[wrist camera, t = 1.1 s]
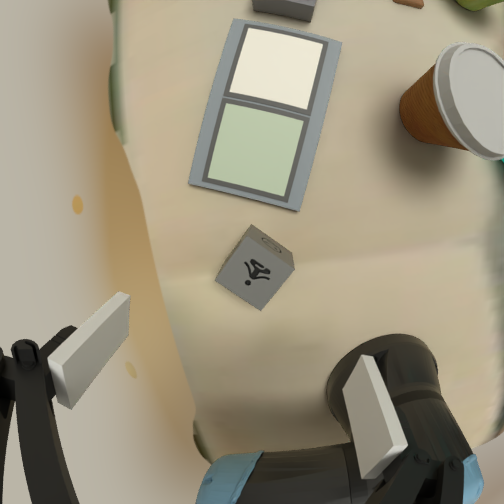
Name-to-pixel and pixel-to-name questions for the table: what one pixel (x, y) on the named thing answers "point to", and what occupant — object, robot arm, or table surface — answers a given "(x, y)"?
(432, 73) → the disposable coffee cup
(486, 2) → the plant pot
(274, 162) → the picture board
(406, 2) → the brown scrollwork sculpture
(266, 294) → the dice cube
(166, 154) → the table surface
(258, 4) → the button housing
